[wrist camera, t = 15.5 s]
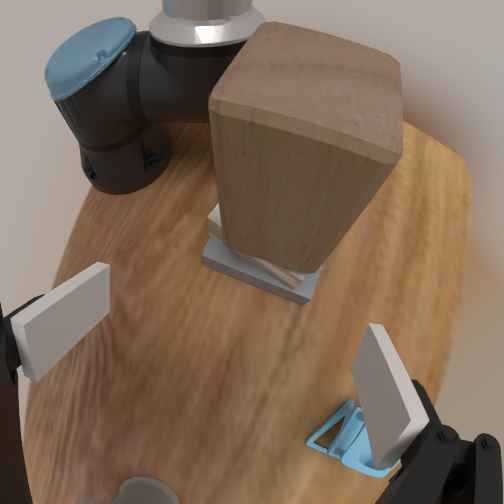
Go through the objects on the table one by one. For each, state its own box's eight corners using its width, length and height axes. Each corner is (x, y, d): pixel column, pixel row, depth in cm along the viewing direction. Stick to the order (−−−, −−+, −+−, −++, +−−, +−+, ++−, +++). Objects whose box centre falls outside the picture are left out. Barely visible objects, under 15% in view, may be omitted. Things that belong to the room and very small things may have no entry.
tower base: (243, 183, 46) (245, 164, 41) (330, 218, 45) (341, 203, 40) (204, 266, 41) (201, 255, 37) (301, 305, 41) (311, 299, 36)
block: (250, 172, 35) (261, 14, 16) (334, 198, 34) (404, 55, 15) (220, 249, 31) (198, 95, 13) (314, 279, 31) (410, 158, 12)
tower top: (263, 167, 41) (267, 145, 36) (338, 215, 40) (352, 198, 35) (209, 234, 37) (206, 217, 33) (292, 290, 36) (302, 280, 31)
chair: (378, 412, 36) (427, 426, 25) (348, 462, 34) (388, 491, 22) (336, 390, 37) (377, 401, 26) (303, 442, 34) (333, 473, 23)
